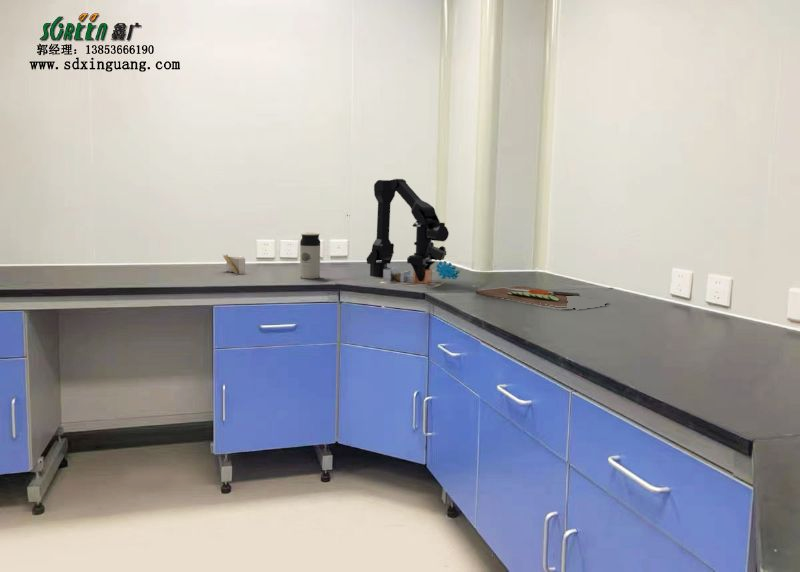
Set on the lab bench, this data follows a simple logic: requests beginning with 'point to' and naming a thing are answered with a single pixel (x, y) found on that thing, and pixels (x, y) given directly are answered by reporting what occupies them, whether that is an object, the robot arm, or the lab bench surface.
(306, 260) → the travel mug
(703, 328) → the lab bench surface
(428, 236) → the robot arm
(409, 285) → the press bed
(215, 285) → the lab bench surface
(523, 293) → the chopping board
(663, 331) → the lab bench surface
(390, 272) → the brushed steel block
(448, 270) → the gear
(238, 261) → the model
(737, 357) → the lab bench surface
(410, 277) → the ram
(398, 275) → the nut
